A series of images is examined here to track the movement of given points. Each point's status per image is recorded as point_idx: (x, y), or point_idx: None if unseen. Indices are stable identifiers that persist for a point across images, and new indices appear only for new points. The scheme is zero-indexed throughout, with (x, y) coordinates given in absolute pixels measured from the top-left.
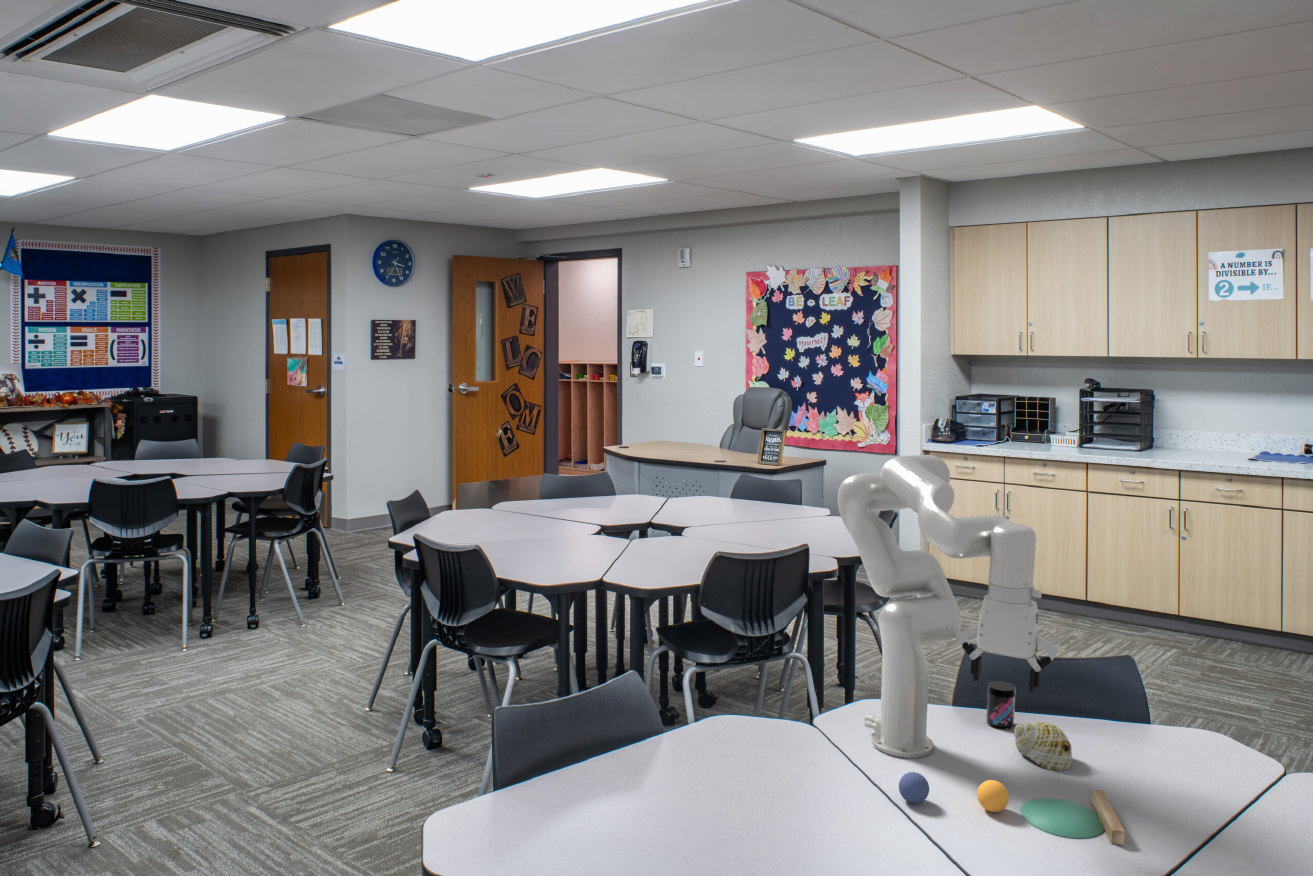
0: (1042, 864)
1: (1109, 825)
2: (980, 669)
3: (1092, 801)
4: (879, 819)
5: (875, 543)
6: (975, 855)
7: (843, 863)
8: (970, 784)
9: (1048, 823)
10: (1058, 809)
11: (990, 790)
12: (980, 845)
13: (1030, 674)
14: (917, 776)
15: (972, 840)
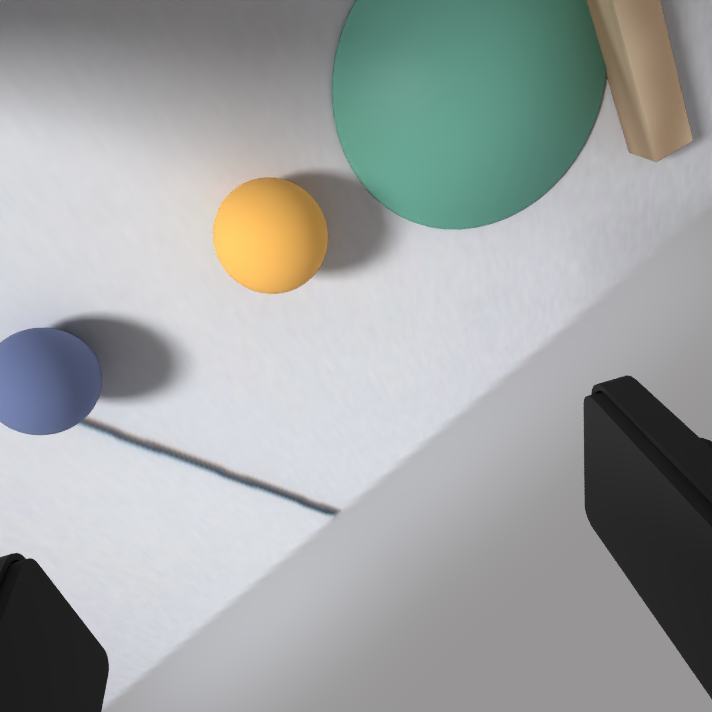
0: (488, 385)
1: (646, 130)
2: (15, 664)
3: None
4: (74, 494)
5: None
6: (349, 459)
7: (162, 651)
8: (93, 72)
9: (447, 175)
10: (447, 39)
11: (282, 290)
12: (338, 416)
13: (707, 684)
14: (47, 415)
15: (311, 411)
